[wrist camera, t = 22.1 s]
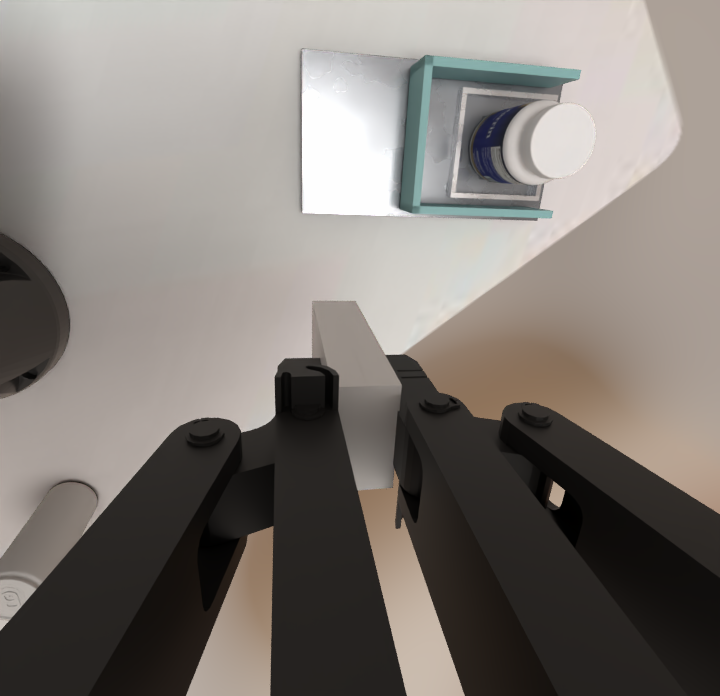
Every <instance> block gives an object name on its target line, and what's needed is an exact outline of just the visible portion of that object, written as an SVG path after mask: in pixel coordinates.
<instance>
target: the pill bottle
mask: <svg viewBox="0 0 720 696" xmlns="http://www.w3.org/2000/svg"><path fill="white" fill-rule="evenodd" d="M595 139H596V129H595V124H594V121H593V118H592V116H591V115H590V113H589V112H588V111H587V110H586V109H585V108H584V107H582V106H581V105H579V104H575V103H559V102H556V101H552V100H540V101H535V102H531V103H527V104H523V105H519V106H516V107H512V108H508V109H504V110H500V111H497V112H494V113H492V114H490V115H488V116H487V117H485V118H484V119H483V120H482V121H481V122H480V123H479V125H478V126H477V127H476V129H475V131H474V133H473V135H472V138H471V141H470V150H469V152H470V160H471V163H472V166H473V168H474V169H475V171H476V172H477V173H478V174H479V175H480V176H481V177H482V178H484V179H485V180H487V181H490V182H495V183H507V184H522V185H540V184H544V183H547V182H549V181H551V180H553V179H561V178H566V177H568V176H571V175H573V174H574V173H576V172H577V171H578V170H580V169H581V168H582V167H583V166H584V164H585V163H586V162H587V160H588V159H589V157H590V155H591V153H592V151H593V148H594V145H595Z"/></svg>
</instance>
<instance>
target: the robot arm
mask: <svg viewBox="0 0 720 696" xmlns="http://www.w3.org/2000/svg"><path fill="white" fill-rule="evenodd" d="M68 336H69V315H68V309H67V305H66V302H65V299H64V297H63V294H62V292H61V290H60V288H59V286H58V285H57V283H56V281H55V280H54V278H53V277H52V275H51V274H50V273H49V271H48V270H47V269H46V268H45V267H44V266H43V264H42V263H41V262H40V261H39V260H38V259H37V258H36V257H34V256H33V255H32V254H31V253H30V252H29V251H27V250H26V249H25V248H23V247H22V246H21V245H19V244H18V243H16V242H15V241H13V240H11V239H9V238H8V237H6V236H4V235H2V234H0V399H1V398H5V397H8V396H11V395H14V394H16V393H18V392H20V391H22V390H24V389H26V388H28V387H30V386H31V385H33V384H34V383H35V382H37V381H38V380H39V379H40V378H41V377H42V376H44V375H45V374H46V373H47V372H48V371H49V370H51V369H52V368H53V366H54V365H55V364H56V363H57V362H58V360H59V359H60V357H61V356H62V354H63V352H64V350H65V347H66V344H67V341H68ZM275 408H276V415H275V417H274V418H273V419H272V420H271V421H270V422H269V423H267V424H266V425H264V426H262V427H260V428H257V429H254V430H251V431H247V432H242V433H241V430H240V429H239V427H238V425H237V424H235V423H234V422H232V421H230V420H226V419H221V418H201V419H196V420H193V421H190V422H188V423H186V424H183V425H181V426H179V427H178V428H177V429H176V430H174V431H173V432H172V433H171V434H170V435H169V436H168V437H167V438H166V440H165V441H164V442H163V443H162V444H161V445H160V446H159V448H158V449H157V450H156V451H155V452H154V453H153V455H152V456H151V457H150V458H149V459H148V460H147V462H146V463H145V464H144V465H143V466H142V467H141V469H140V470H139V471H138V472H137V473H136V474H135V475H134V477H133V478H132V479H131V480H130V481H129V482H128V484H127V485H126V486H125V487H124V488H123V489H122V491H121V492H120V493H119V494H118V495H117V496H116V498H115V499H114V500H113V501H112V502H111V503H110V504H109V506H108V507H107V508H106V509H105V510H104V511H103V513H102V514H101V515H100V516H99V517H98V518H97V520H96V521H95V522H94V523H93V524H92V525H91V526H90V528H89V529H88V530H87V531H86V532H85V533H84V535H83V536H82V537H81V538H80V539H79V540H78V542H77V543H76V544H75V545H74V546H73V547H72V549H71V550H70V551H69V552H68V553H67V554H66V555H65V557H64V558H63V559H62V560H61V561H60V562H59V564H58V565H57V566H56V567H55V568H54V569H53V571H52V572H51V573H50V574H49V575H48V576H47V578H46V579H45V580H44V581H43V582H42V583H41V584H40V586H39V587H38V588H37V589H36V590H35V591H34V593H33V594H32V595H31V596H30V597H29V598H28V600H27V601H26V602H25V603H24V604H23V605H22V606H21V608H20V609H19V610H18V611H17V612H16V613H15V615H14V616H13V617H12V618H11V619H10V620H9V622H8V623H7V624H6V625H5V626H4V627H3V629H2V630H1V631H0V696H186V694H187V691H188V689H189V686H190V684H191V681H192V679H193V676H194V674H195V671H196V669H197V666H198V664H199V661H200V659H201V656H202V654H203V651H204V649H205V646H206V644H207V641H208V639H209V636H210V634H211V631H212V629H213V626H214V624H215V621H216V618H217V616H218V614H219V611H220V609H221V607H222V604H223V601H224V599H225V597H226V594H227V591H228V589H229V587H230V584H231V582H232V579H233V577H234V574H235V571H236V569H237V567H238V564H239V561H240V559H241V557H242V554H243V552H244V549H245V547H246V543H247V536H248V535H249V534H251V533H254V532H257V531H260V530H263V529H266V528H269V527H271V526H274V529H273V530H274V531H273V584H272V585H273V586H272V639H271V641H272V642H271V694H270V695H271V696H407V695H406V691H405V687H404V683H403V678H402V674H401V670H400V666H399V662H398V657H397V653H396V649H395V645H394V641H393V636H392V632H391V628H390V624H389V620H388V616H387V612H386V607H385V603H384V599H383V595H382V591H381V586H380V583H379V579H378V575H377V570H376V566H375V561H374V557H373V553H372V549H371V545H370V541H369V537H368V532H367V528H366V524H365V520H364V515H363V511H362V507H361V503H360V499H359V495H358V490H368V489H382V488H393V478H394V468H395V471H396V474H397V476H398V479H399V488H398V498H397V509H396V519H395V525H396V529H398V528H400V527H401V519H402V518H404V520H405V523H406V526H407V529H408V532H409V535H410V538H411V540H412V543H413V547H414V549H415V552H416V555H417V558H418V561H419V564H420V567H421V570H422V573H423V575H424V578H425V581H426V584H427V587H428V590H429V593H430V596H431V599H432V602H433V605H434V607H435V610H436V613H437V616H438V619H439V622H440V625H441V628H442V631H443V634H444V636H445V639H446V642H447V645H448V648H449V651H450V654H451V657H452V660H453V662H454V665H455V668H456V671H457V674H458V677H459V680H460V683H461V686H462V689H463V692H464V694H465V696H720V514H718V513H717V512H715V511H714V510H712V509H710V508H709V507H707V506H705V505H704V504H702V503H701V502H699V501H698V500H696V499H694V498H693V497H691V496H690V495H688V494H686V493H685V492H683V491H682V490H680V489H679V488H677V487H675V486H674V485H672V484H670V483H669V482H667V481H666V480H664V479H662V478H661V477H659V476H658V475H656V474H654V473H653V472H651V471H649V470H648V469H647V468H645V467H643V466H642V465H640V464H639V463H637V462H635V461H634V460H632V459H631V458H629V457H627V456H626V455H624V454H623V453H621V452H620V451H618V450H616V449H615V448H613V447H611V446H610V445H608V444H607V443H605V442H604V441H602V440H600V439H599V438H597V437H596V436H594V435H592V434H591V433H589V432H588V431H586V430H584V429H582V428H581V427H580V426H578V425H576V424H575V423H573V422H572V421H570V420H568V419H567V418H565V417H563V416H562V415H560V414H559V413H557V412H555V411H553V410H551V409H549V408H547V407H544V406H540V405H539V404H536V403H528V402H523V403H513V404H510V405H508V406H506V407H505V408H504V410H503V413H502V417H501V421H499V420H492V419H484V418H478V417H473V415H472V414H471V413H470V411H469V410H468V409H467V407H466V406H465V405H464V404H463V403H462V402H461V401H460V400H459V399H457V398H454V397H452V396H450V395H447V394H443V393H439V392H438V391H437V390H436V388H435V387H434V385H433V384H432V382H431V381H430V380H429V378H427V375H426V374H425V372H424V371H423V369H422V368H421V367H420V365H419V364H418V362H417V361H415V360H414V359H412V358H410V357H408V356H407V355H385V354H384V352H383V350H382V348H381V347H380V345H379V343H378V341H377V339H376V337H375V336H374V334H373V332H372V330H371V328H370V327H369V325H368V323H367V321H366V319H365V318H364V316H363V314H362V312H361V310H360V309H359V307H358V305H357V303H356V301H313V303H312V358H291V359H284V360H283V361H282V362H281V363H280V364H279V365H278V372H277V373H276V375H275ZM553 481H554V482H556V483H557V484H558V485H559V486H561V487H562V488H563V489H564V490H565V494H564V497H563V501H562V504H561V506H560V507H558V506H556V505H554V504H553V503H552V502H551V501H550V500H549V497H550V493H551V489H552V485H553Z"/></svg>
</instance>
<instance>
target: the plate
mask: <svg viewBox="0 0 720 696" xmlns="http://www.w3.org/2000/svg"><path fill="white" fill-rule="evenodd" d="M417 61H419V60H417V59H407V58H396V57H385V56H375V55H364V54H353V53H343V52H332V51H322V50H311V49H302V51H301V107H302V213H316V214H347V215H379V216H410V217H441V218H472V219H503V220H534V221H537V219H538V218H525V217H495V216H465V215H435V214H411V213H409V212H406V211H403V210H400V201H401V188H402V174H403V161H404V148H405V135H406V121H407V108H408V95H409V82H410V68H411V66H412V65H414V64H415V63H416V62H417ZM562 86H563V84H561V85H558V86H555V87H551V88H545V87H534V86H523V85H511V84H500V83H488V82H477V81H465V80H454V79H443V78H432V81H431V92H430V103H429V114H428V125H427V136H426V147H425V158H424V169H423V179H422V190H421V201H420V203H433V204H459V205H486V206H513V207H531V208H537V209H539V208H540V203H541V198H542V192H543V187H544V184H540V185H522V184H507V183H495V182H490V181H487V180H485V179H484V178H482V177H481V176H480V175H479V174H478V173H477V172H476V171H475V169H474V168H473V166H472V163H471V160H470V152H469V150H470V141H471V138H472V135H473V133H474V131H475V129H476V127H477V126H478V125H479V123H480V122H481V121H482V120H483V119H484V118H485V117H487V116H488V115H490V114H492V113H494V112H497V111H500V110H504V109H508V108H512V107H516V106H519V105H523V104H527V103H531V102H535V101H540V100H552V101H556V102H560V97H561V91H562Z"/></svg>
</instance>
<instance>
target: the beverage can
mask: <svg viewBox="0 0 720 696" xmlns="http://www.w3.org/2000/svg"><path fill="white" fill-rule="evenodd" d="M97 501H98V500H97V497H96V494H95V493H94V492H93V490H92V489H91V488H89V487H88V486H86V485H84V484H81V483H77V482H68V483H62V484H59V485H57V486H55V487H53V488H52V489H51V490H50V491H49V492H48V494H47V495H46V496H45V498H44V499H43V501H42V502H41V503H40V505H39V506H38V508H37V509H36V510H35V512H34V513H33V514H32V516H31V517H30V519H29V520H28V521H27V523H26V524H25V526H24V527H23V528H22V530H21V531H20V532H19V534H18V535H17V537H16V538H15V539H14V541H13V542H12V544H11V545H10V546H9V548H8V549H7V551H6V552H5V553H4V555H3V556H2V557H1V559H0V620H6V621H9V620H10V619H11V618H12V617H13V616H14V615H15V613H16V612H17V611H18V610H19V609H20V608H21V606H22V605H23V604H24V603H25V602H26V601H27V600H28V598H29V597H30V596H31V595H32V594H33V593H34V591H35V590H36V589H37V588H38V587H39V586H40V584H41V583H42V582H43V581H44V580H45V579H46V578H47V576H48V575H49V574H50V573H51V572H52V571H53V569H54V568H55V567H56V566H57V565H58V564H59V562H60V561H61V560H62V559H63V558H64V557H65V555H66V554H67V553H68V552H69V551H70V550H71V549H72V547H73V546H74V545H75V544H76V543H77V542H78V540H79V539H80V538H81V536H82V534H83V532H84V530H85V528H86V526H87V524H88V522H89V520H90V518H91V517H92V515H93V513H94V511H95V509H96V507H97Z"/></svg>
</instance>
